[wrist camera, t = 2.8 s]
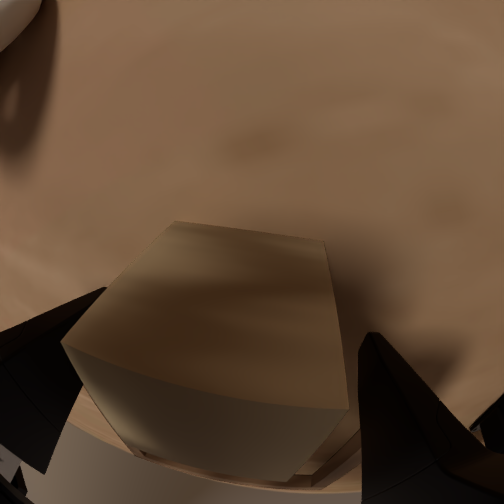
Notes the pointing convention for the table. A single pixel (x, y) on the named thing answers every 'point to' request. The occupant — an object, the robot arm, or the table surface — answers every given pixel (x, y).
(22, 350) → the robot arm
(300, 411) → the oak block
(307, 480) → the bay
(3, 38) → the white decorative knot
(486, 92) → the table surface
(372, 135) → the table surface
